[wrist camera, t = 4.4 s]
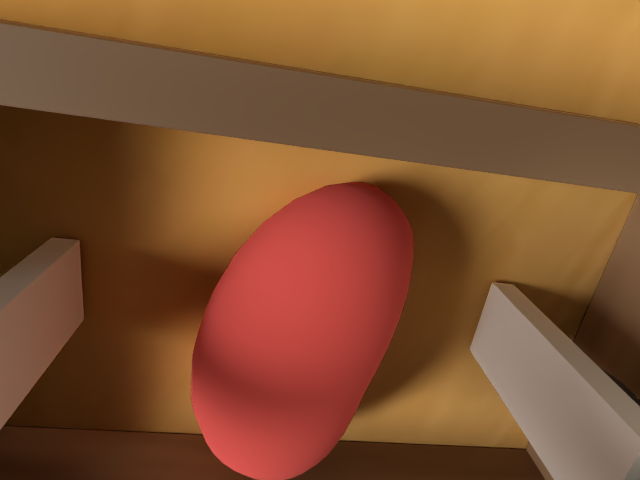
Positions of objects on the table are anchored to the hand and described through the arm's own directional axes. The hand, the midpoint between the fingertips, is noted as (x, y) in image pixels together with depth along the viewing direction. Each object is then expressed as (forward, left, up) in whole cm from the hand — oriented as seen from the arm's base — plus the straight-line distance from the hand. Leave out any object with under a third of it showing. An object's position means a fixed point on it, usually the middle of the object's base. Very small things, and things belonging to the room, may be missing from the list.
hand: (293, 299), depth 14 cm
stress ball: (0, 0, 0) cm, 1 cm away
